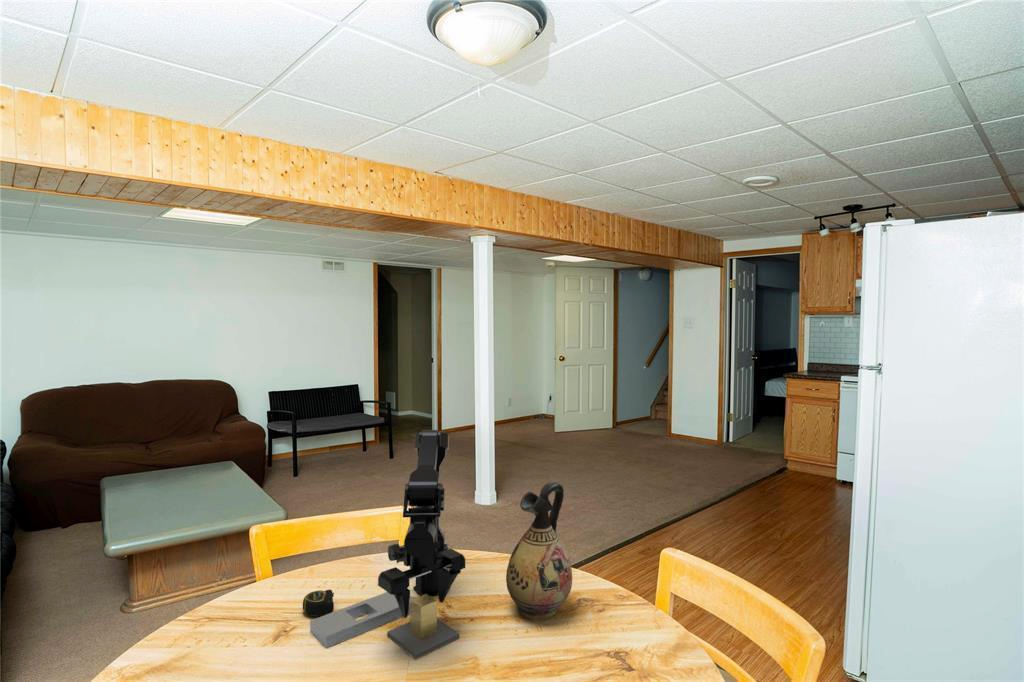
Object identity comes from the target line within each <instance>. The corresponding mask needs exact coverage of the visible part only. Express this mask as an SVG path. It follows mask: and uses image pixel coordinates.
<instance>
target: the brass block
mask: <svg viewBox="0 0 1024 682" xmlns="http://www.w3.org/2000/svg"><path fill="white" fill-rule="evenodd" d="M413 598H414V599H411V607H410V614H409V615H410V621H409V622H410V632H411V633H412V634H414V635H415V636H416V637H418V638H419V639H420V640H422V639H424V638H427V637H429V636H431V635H433V634H435V633H437V618H438V600H436V599H435V598H434V597H433V596H432V597H431V596H429V595H428V594H424V595H419V596H417V597H413Z"/></svg>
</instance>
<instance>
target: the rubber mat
mask: <svg viewBox="0 0 1024 682" xmlns="http://www.w3.org/2000/svg"><path fill="white" fill-rule="evenodd" d="M460 636H461V635H460V632H458V631H457V630H456V629H454V628H452V627H451V626H449V625H448V624H446V623H445V622H444V621H443V620H441V619H439V618H438V617H437V633H435V634H433V635H431V636H429V637H427V638H424V639H422V640H420V639H419V638H418V637H416V636H415V635H414V634H412V633H411V632H410V621H408V622H406V623H403V624H402V625H401V624H400V626H397V627H394V628H392V629H390V630H387V631H386V637H388V638H389V639H390V640H391V641H392V642H394V643H395V644H396V645H398V647H400V648H401V649H402V650H404V651H405V652H406V653H408V655H410V656H411V657H412V658H413V659H414V660H417V659H420V658H422V657H423V656H426V655H428V654H430V653H432V652H434V651H436V650H438V649H441V648H442V647H444V646H446V645H449V644H450V643H452V642H455V641H456V640H459V639H460Z"/></svg>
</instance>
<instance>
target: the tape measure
mask: <svg viewBox="0 0 1024 682" xmlns="http://www.w3.org/2000/svg"><path fill="white" fill-rule="evenodd" d="M334 596H335V592H333V590H332V589H326V590H320V589H319V590H314V591H311V592H309V593H307V594H306V595H305V596H304V597H303V600H302V611H303V612H304V614H305V615H307V616H310V617H319V616H324V615H327V614H329V613H332V612H334V608H335V607H334V606H335V605H334Z"/></svg>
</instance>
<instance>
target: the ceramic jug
mask: <svg viewBox="0 0 1024 682" xmlns="http://www.w3.org/2000/svg"><path fill="white" fill-rule="evenodd" d="M553 492H554V499H553V502H552V503H551V501H550V500H549V496H550V495H551V494H552V493H553ZM564 495H565V493H564V486H563V485H562V484H560V483H559V482H556V481H553V482H548V483H546V484H545V485H543V487H542V488H541V490H540V493H539V495H536V494H535V493H534V492H532V491H527V493H525V494H524V495H523V496H522V497H521V500H520V503H519V506H520V509H521V511H523V512H526V513H530V514H533V515H534V516H535V517H534V520H533V521H532V523H531V525H530V526H529V528H527V530H526V531H525V533H523V535H522V537H521V538H520V539H519V541H518V543H517V544H516V545H515V547H514V548H513V550H512V552H511V555H510V558H509V561H508V565H507V569H506V575H505V583H506V587H507V588H506V589H507V592H508V594H509V596H510V598H511V599H512V600H513V602H514V603H515V605H516V606H517V612H518V611H519V612H518V613H519V615H520V614H521V615H520V616H521V617H524V618H527V619H529V618H530V620H533V619H539V620H538V621H541V619H544V620H546V619H550V618H552V617H554V616H553V615H556V614H557V612H558V609H559V607H560V606H561V605H562V604H563V603H564V602H565V601H566V600H567V599H568V596H569V595H570V593H571V590H572V588H573V587H572V586H573V571H572V564H571V561H570V560H571V559H570V558H569V553H568V552H567V550H566V548H565V546H564V544H563V542H562V541H561V539H560V537H559V536H558V534H557V526H558V523H557V522H558V519H559V514H560V513H561V512H560V511H561V507H562V505H563V501H564V497H565V496H564ZM549 511H550V512H549Z"/></svg>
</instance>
